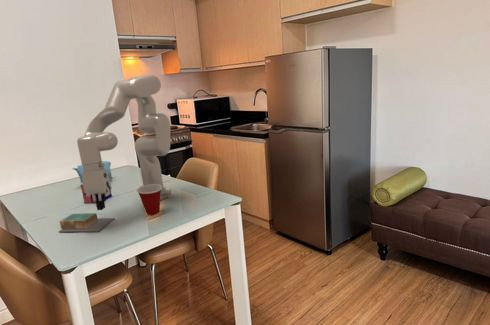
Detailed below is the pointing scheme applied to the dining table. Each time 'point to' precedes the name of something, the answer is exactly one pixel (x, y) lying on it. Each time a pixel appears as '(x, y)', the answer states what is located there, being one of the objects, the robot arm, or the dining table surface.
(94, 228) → the mat
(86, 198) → the puzzle cube
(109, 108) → the robot arm
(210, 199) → the dining table surface
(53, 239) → the dining table surface
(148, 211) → the plastic cup
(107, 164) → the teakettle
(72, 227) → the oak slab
